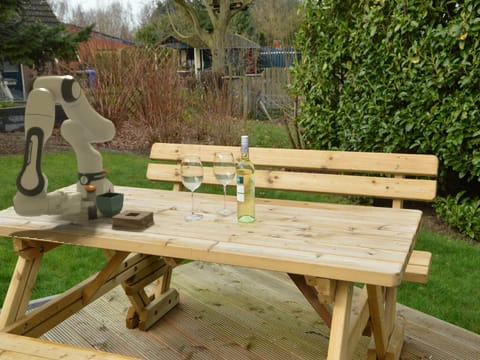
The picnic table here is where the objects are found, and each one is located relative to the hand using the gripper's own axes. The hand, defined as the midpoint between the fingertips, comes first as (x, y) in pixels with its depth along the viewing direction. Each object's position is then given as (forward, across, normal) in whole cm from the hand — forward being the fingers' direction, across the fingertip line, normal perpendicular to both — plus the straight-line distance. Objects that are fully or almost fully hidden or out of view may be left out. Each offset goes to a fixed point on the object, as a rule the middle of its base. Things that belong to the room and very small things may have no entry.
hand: (94, 201), depth 215 cm
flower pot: (+6, +12, +10) cm, 16 cm away
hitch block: (+15, -5, +9) cm, 18 cm away
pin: (-1, 0, +7) cm, 7 cm away
